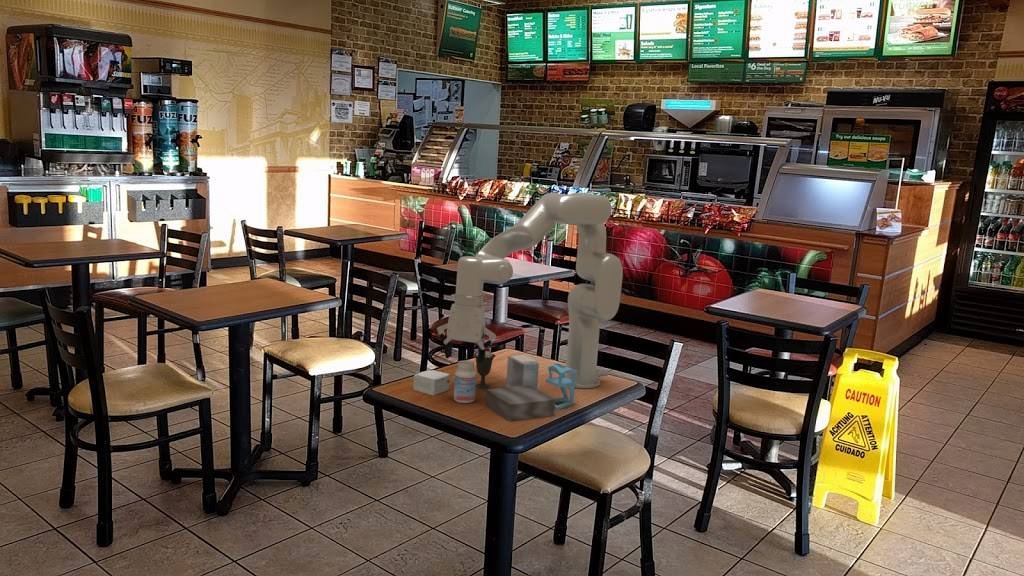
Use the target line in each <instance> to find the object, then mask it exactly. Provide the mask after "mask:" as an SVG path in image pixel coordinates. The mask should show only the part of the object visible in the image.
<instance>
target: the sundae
mask: <svg viewBox="0 0 1024 576" xmlns="http://www.w3.org/2000/svg"><path fill="white" fill-rule="evenodd" d="M479 349H480V347H479V346H478V350H479ZM478 350H477V352H474V353H473V357H474V358H475V363H476V365H475V366H476V367H475V368H476V371H477V372H476V373H478V374H479V376H480V377H481V379H480V383H478V384H477V383H476V384H475V389H481V390H483V389H484V390H488V389H491V385H489V384H487V383H486V376H488V375H489V374H490V372H491V370H492V369H491V368H492V366H493V365H492V364H493V360H494V358H496V357H497V355H496V354H494V353H492V351H491V348H490V345H489V346H488V347H487V348H486V352H485V360H483V362H481V363H478Z"/></svg>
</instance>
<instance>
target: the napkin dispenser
mask: <svg viewBox="0 0 1024 576" xmlns="http://www.w3.org/2000/svg"><path fill="white" fill-rule="evenodd" d="M537 361H538V360H536V359H534V358H533V357H531V356H529V355H526V354H517V355H516V354H515V355H508V356H507V362H506V363H507V364H506V365H507V366H506V367H507V369H506V382H505V385H506V386H505V388H507V387H517V386H526V385H530V386H532V387H534V388H536V389H537V390H538V385H539V384H538V381H539V366H540V365H539V364H540V363H539V362H537Z"/></svg>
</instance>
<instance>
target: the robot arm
mask: <svg viewBox="0 0 1024 576" xmlns="http://www.w3.org/2000/svg"><path fill="white" fill-rule="evenodd" d="M612 209H613V207H612V203H611V201H610V200H609V199H608V197H605V196H604V195H601V194H592V193H586V192H573V193H570V194H567V193H565V194H564V193H559V192H558V193H556V192H547V193H545V194H544V195H542V196H540V198H539V199H538V200H537V201H536V202H535V203H534V204H533V205H532V206H531V208H530V209H529V210H528V211H527V212H525V214H524V215H523V216H522V217H521V218H520V219H519V220H518V222H516V224H514V225H513V226H511V227H509V228H507V229H505V230H504V231H502V232H500V233H499V234H497V235H495V236H494V237H493V238H491V239H490V240H489V241H488V242H486V243H485V244H484V245H483V246H482V248H481V249H480V250H479V251H478V252H477V253H476V254H475V256H470V255H469V256H466V255H465V256H461V257H459V259H458V261H457V268H456V269H457V271H456V272H457V273H456V284H455V293H453V294H451V295H450V299H451V300H454V303H452V304H451V307H450V311H449V314H448V316H449V317H448V322H447V323H444V324H442V325H440V326H438V327H437V328H436V329H437V333H438V335H439V338H440V339H441V340H442V341H443V344H444V355H445V359H449V358H451V357H452V356H453V342H452V341H457V342H458V341H459V342H465V343H466V342H467V343H475V344H477V345H478V348H479V347H480V349H479V350H477V352H478V363H481V362H483V360H485V352H486V348H487V347H488V346H489V347H490V345H492V344H493V343H494V341H495V339H496V337H497V335H496V334H495V333H494V332H492V331H491V330H490V329H488V328H487V327H486V315H485V308H484V307H485V306H483V291H484V284H485V283H486V284H493V285H503V284H506V283H507V282H509V281H510V280H511V279H512V277H513V274H514V268H513V266H512V264H511V263H510V261H509V260H507V259H505V258H507V257H508V256H511V255H512V254H513V253H516V252H519V251H523V250H527V249H530V248H533V247H536V246H537V245H538V244H539V243H540V242H541V241H542V240H543V238H544V237H546V235H548V233H549V232H550V231H551V230H552V229H553V228H554V227H555V226H556V225H557V224H563V225H574V226H576V229H577V233H578V243H577V253H576V264H575V272H576V274H577V275H578V277H580V278H581V279H583V280H586V281H590V282H592V283H595V284H594V285H593V284H589V283H579V284H576V285H575V286H573V287H571V289H570V291H569V293H568V296H567V307H568V315H569V316H568V320H569V321H568V322H569V323H568V335H567V337H568V338H567V339H568V340H567V349H566V350H567V351H566V363H565V364H566V365H565V366H566V367H568V368H571V369H573V370H577V372H576V374H575V377H574V380H575V381H576V382H577V385H576V386H575V388H576V389H592V388H593V389H594V388H597V387H599V386H600V385H601V380H600V379H599V378H601V377H607V376H609V370H608V369H603V370H601V369H600V368H597V365H598V350H599V339H600V323H599V321H604V322H606V321H610V320H612V319H613V318H614V317H615V316H616V314H617V313H618V311H619V307H620V301H621V294H622V285H623V277H624V276H623V275H624V273H623V271H624V270H623V265H622V262H621V260H620V258H618V256H616V255H615V254H613V253H609V252H606V250H607V231H606V226H605V223H606V222H607V221H608V220H609V218H610V217H611V215H612V211H613V210H612ZM445 330H446V333H445ZM485 335H486V336H487V337H488V340H487V341H485V337H486V336H485ZM572 375H573V373H572V372H567V373H565V377H566V378H568V379H570V380H572V379H571V378H572ZM575 388H574V389H575Z"/></svg>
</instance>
